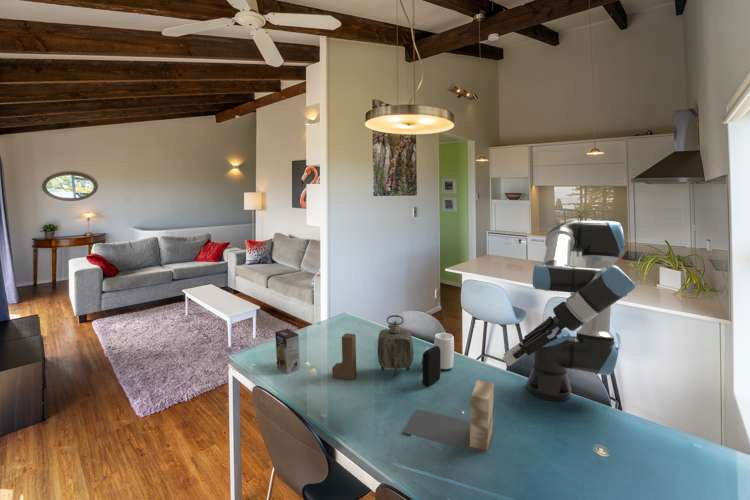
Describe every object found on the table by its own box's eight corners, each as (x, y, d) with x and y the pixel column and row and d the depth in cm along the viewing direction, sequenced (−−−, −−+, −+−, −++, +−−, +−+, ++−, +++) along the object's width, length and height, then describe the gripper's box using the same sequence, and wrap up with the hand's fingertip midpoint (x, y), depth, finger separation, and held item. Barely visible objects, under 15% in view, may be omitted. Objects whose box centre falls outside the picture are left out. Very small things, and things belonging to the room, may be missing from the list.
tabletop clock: (412, 368, 165) (412, 311, 161) (413, 378, 156) (413, 319, 152) (378, 368, 165) (377, 312, 161) (377, 378, 156) (377, 319, 152)
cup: (456, 366, 166) (457, 334, 164) (449, 374, 159) (449, 341, 157) (438, 361, 171) (438, 331, 169) (430, 369, 164) (430, 337, 162)
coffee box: (276, 367, 167) (274, 331, 165) (289, 362, 172) (287, 328, 169) (287, 374, 161) (285, 337, 158) (300, 369, 165) (298, 333, 162)
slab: (492, 431, 120) (494, 383, 118) (487, 450, 111) (488, 399, 109) (476, 427, 122) (477, 380, 120) (469, 446, 113) (471, 395, 111)
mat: (495, 429, 122) (495, 427, 122) (488, 456, 110) (488, 454, 110) (416, 410, 133) (416, 408, 133) (402, 433, 121) (402, 431, 120)
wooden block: (332, 377, 157) (330, 335, 154) (336, 372, 161) (335, 331, 159) (352, 380, 155) (351, 338, 152) (356, 375, 159) (355, 333, 156)
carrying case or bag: (425, 390, 146) (425, 353, 144) (418, 387, 148) (419, 351, 146) (441, 380, 154) (442, 345, 151) (435, 378, 156) (436, 343, 154)
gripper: (563, 293, 110) (500, 340, 120) (564, 308, 96) (493, 360, 106) (583, 314, 109) (517, 359, 118) (587, 332, 95) (513, 382, 105)
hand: (506, 359), depth 112 cm, fingers open, 2 cm apart
